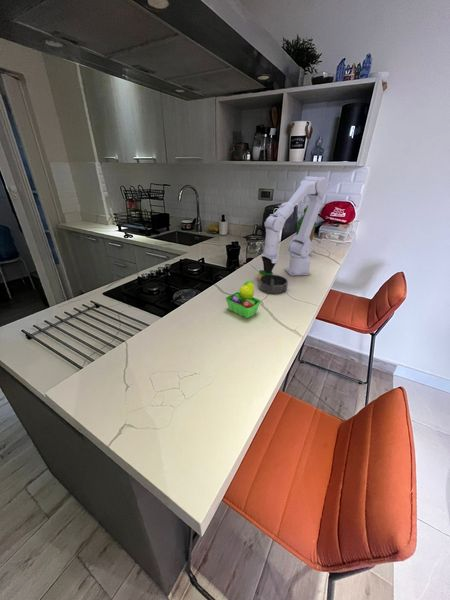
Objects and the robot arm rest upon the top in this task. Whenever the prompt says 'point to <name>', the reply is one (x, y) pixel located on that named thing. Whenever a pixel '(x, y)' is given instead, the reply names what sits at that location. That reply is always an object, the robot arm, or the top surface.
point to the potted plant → (301, 223)
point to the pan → (273, 284)
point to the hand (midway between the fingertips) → (267, 272)
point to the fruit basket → (244, 301)
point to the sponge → (263, 273)
